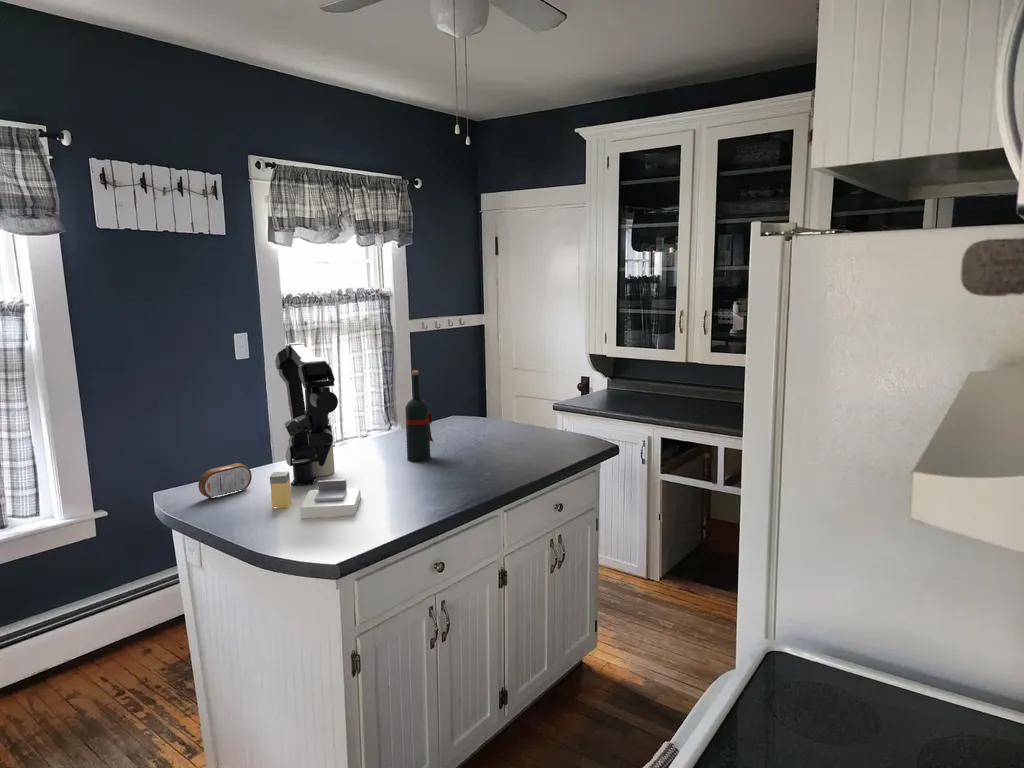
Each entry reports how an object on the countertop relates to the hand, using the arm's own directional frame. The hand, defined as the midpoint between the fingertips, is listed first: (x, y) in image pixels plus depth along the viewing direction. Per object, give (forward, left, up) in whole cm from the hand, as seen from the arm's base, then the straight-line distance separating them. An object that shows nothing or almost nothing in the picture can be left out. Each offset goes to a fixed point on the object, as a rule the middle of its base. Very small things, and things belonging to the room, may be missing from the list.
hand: (320, 461), depth 186 cm
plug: (+2, -11, -12) cm, 16 cm away
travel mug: (-26, -5, -12) cm, 29 cm away
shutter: (+6, +3, -8) cm, 11 cm away
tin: (-10, -29, -12) cm, 33 cm away
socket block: (+6, +3, -12) cm, 13 cm away
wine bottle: (-38, +26, -12) cm, 48 cm away
